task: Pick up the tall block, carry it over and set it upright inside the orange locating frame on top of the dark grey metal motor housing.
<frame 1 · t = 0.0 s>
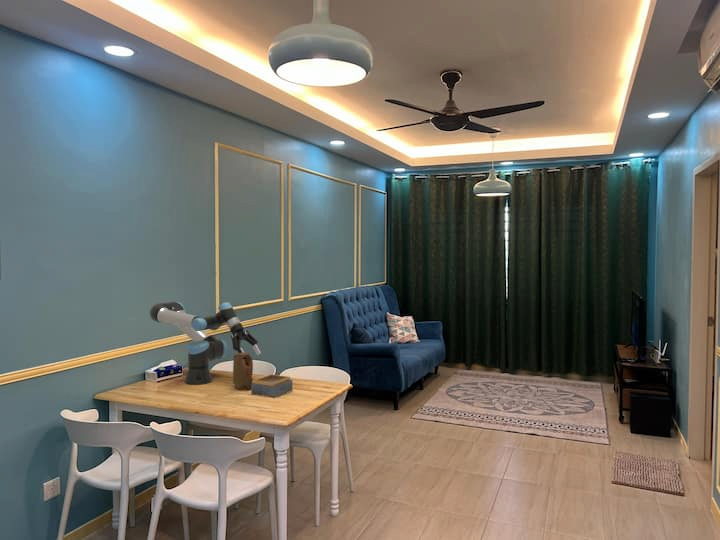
hand: (252, 356, 314), 15 cm above the table, tool tilted 35°, fingers open, 13 cm apart
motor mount: (272, 392, 293), on the table
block: (243, 388, 301), on the table
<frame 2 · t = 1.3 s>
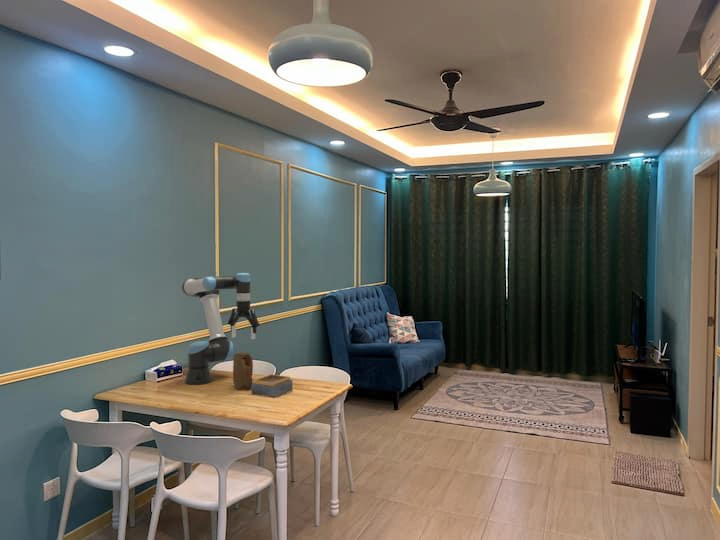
hand: (243, 338, 300), 29 cm above the table, tool pointing down, fingers open, 13 cm apart
nothing on the table moved.
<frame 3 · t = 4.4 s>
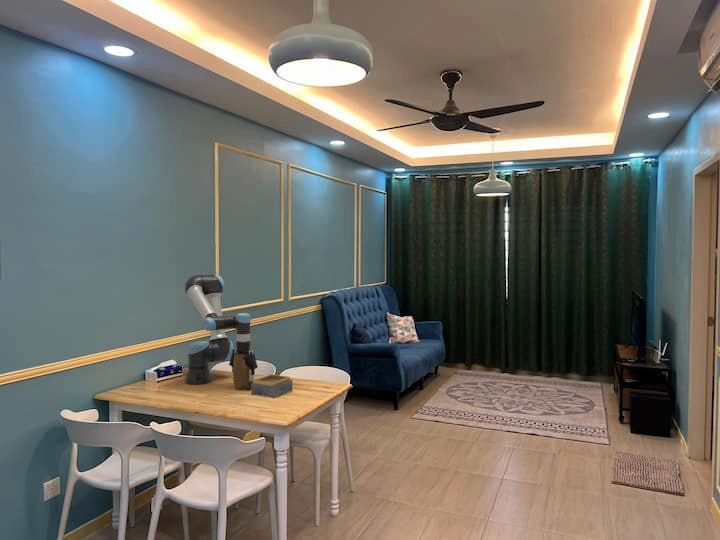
hand: (243, 379, 301), 5 cm above the table, tool pointing down, fingers closed on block, 11 cm apart
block: (243, 388, 301), on the table, touching gripper
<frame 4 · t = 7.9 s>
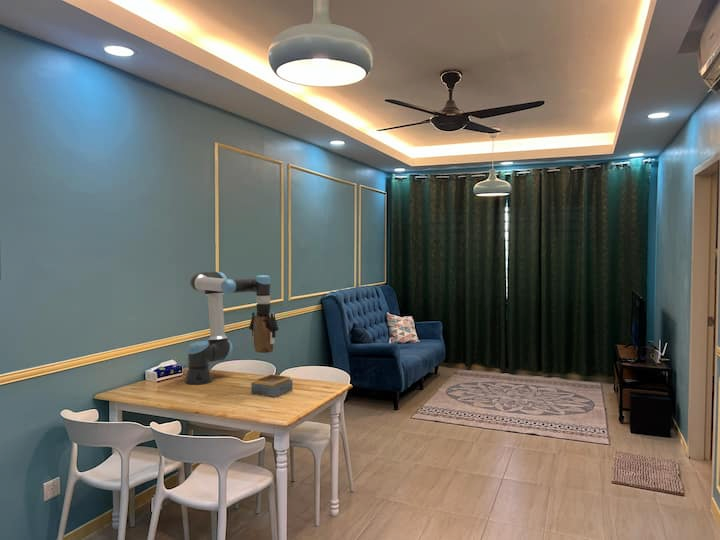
hand: (263, 342, 294), 27 cm above the table, tool pointing down, fingers closed on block, 11 cm apart
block: (264, 352, 294), point 22 cm above the table, touching gripper
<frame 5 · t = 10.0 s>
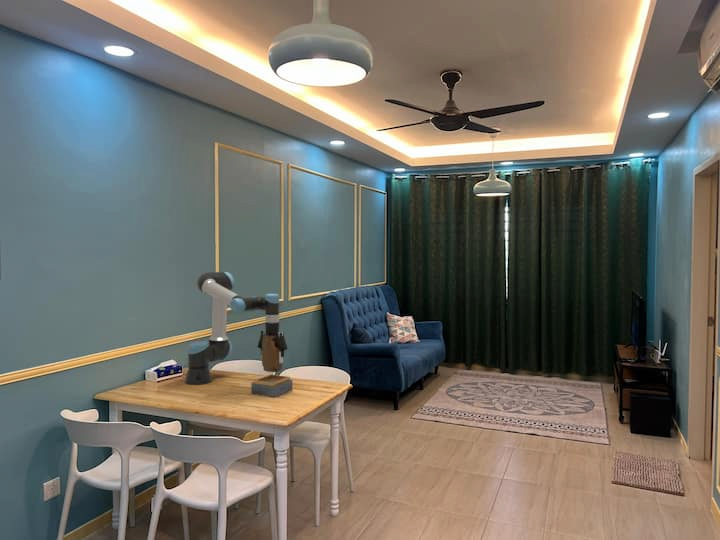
hand: (272, 361, 293), 17 cm above the table, tool pointing down, fingers closed on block, 11 cm apart
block: (272, 371, 293), point 12 cm above the table, touching gripper
when the fingers open (13 cm above the table, at t = 11.8 s): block drops 2 cm, resting on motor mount.
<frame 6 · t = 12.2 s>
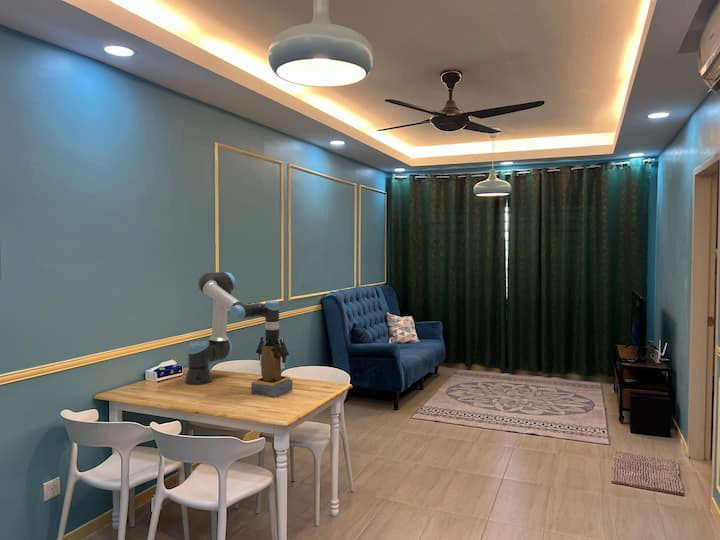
hand: (272, 367, 293), 14 cm above the table, tool pointing down, fingers open, 13 cm apart
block: (271, 381, 293), point 6 cm above the table, touching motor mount
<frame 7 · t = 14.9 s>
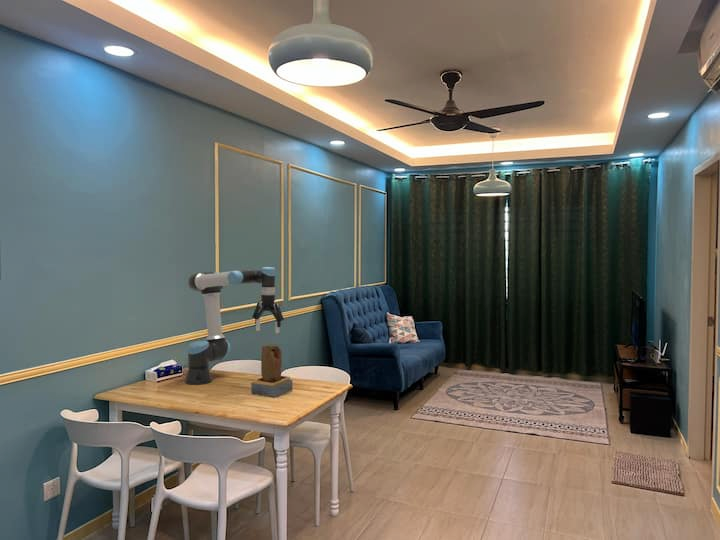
hand: (267, 331, 302), 32 cm above the table, tool pointing down, fingers open, 13 cm apart
nothing on the table moved.
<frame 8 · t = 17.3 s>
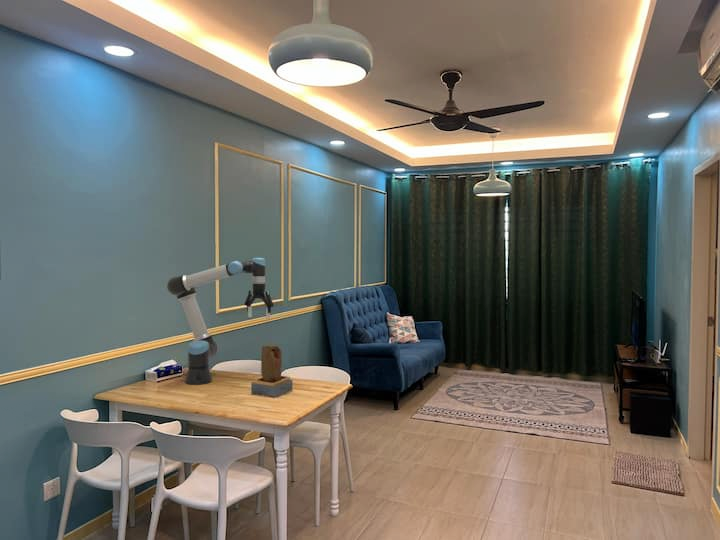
hand: (258, 317, 325), 37 cm above the table, tool pointing down, fingers open, 13 cm apart
nothing on the table moved.
at the end: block 0.2 cm off-centre on the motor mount, point 5.8 cm above the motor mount's base; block tilted 0°; the gripper is holding nothing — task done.
